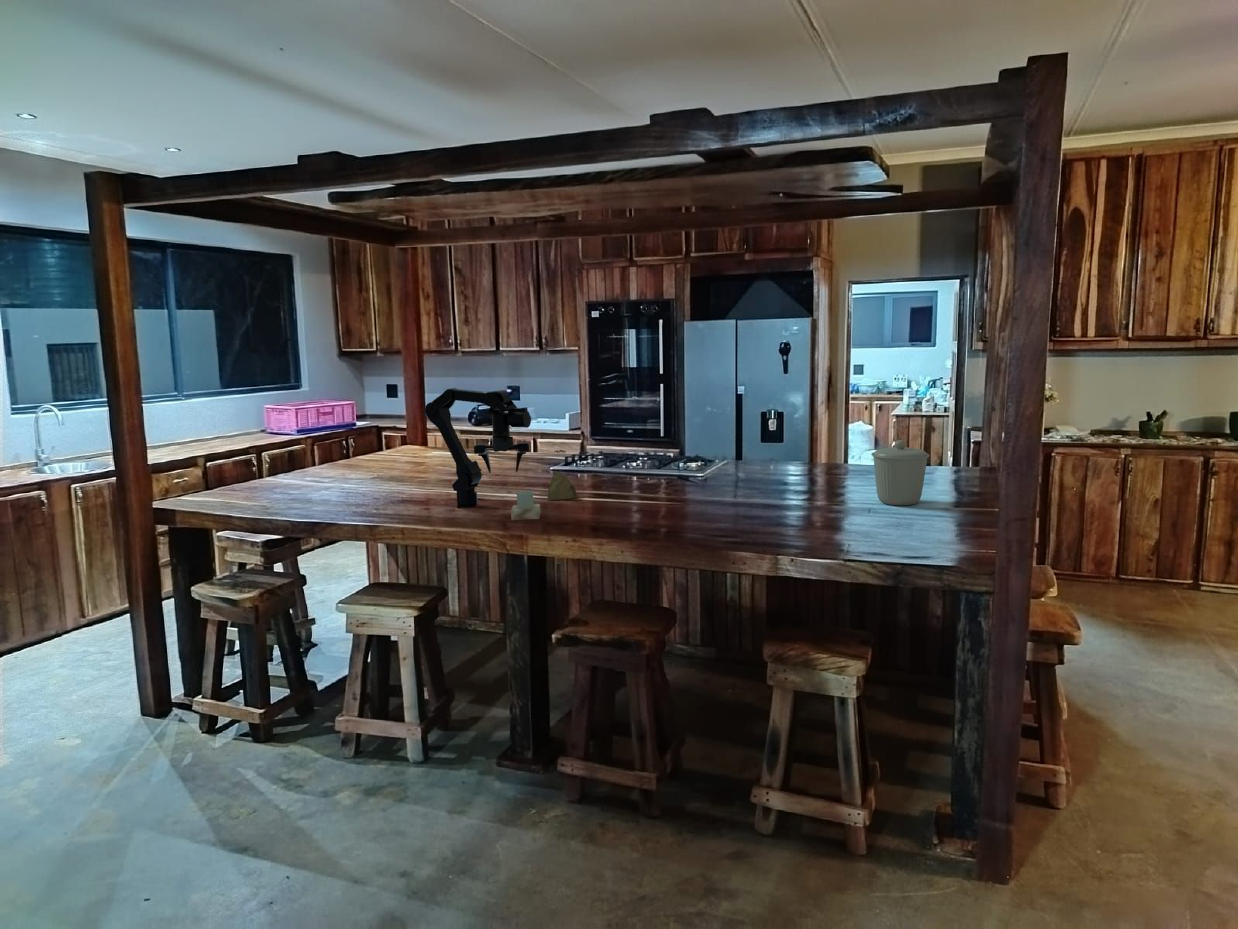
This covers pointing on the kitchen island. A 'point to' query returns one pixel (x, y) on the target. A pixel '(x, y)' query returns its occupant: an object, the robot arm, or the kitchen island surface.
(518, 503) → the block
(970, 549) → the kitchen island surface
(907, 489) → the canister
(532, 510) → the plinth
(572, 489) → the rock
